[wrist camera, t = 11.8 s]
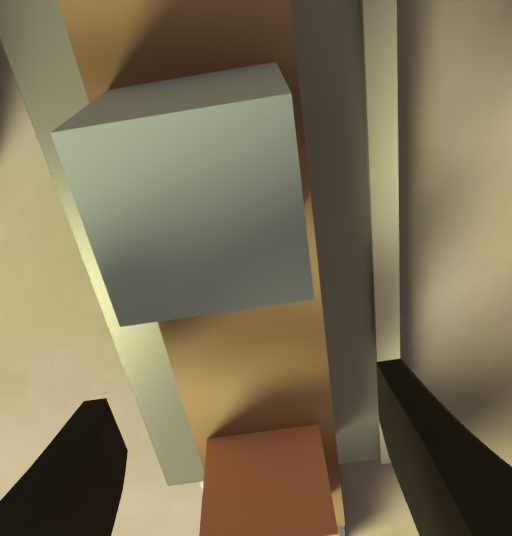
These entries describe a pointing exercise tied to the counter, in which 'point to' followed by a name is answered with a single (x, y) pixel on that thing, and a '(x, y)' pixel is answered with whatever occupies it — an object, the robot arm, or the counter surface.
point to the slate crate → (191, 194)
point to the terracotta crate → (267, 485)
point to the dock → (322, 197)
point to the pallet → (304, 312)
